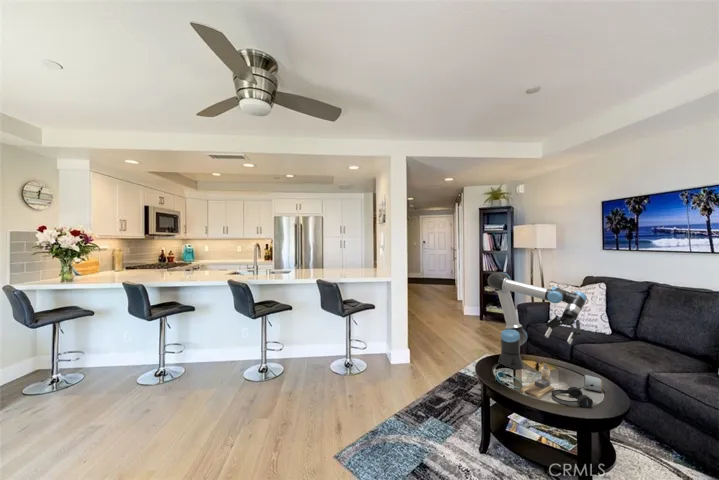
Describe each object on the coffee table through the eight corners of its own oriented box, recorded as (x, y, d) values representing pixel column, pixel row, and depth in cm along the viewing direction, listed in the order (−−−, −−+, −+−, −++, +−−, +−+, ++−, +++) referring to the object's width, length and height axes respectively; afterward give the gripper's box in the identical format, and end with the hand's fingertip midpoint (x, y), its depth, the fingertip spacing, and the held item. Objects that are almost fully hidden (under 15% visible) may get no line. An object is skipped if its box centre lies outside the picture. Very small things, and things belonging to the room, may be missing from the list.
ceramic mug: (603, 394, 167) (603, 380, 167) (585, 390, 171) (584, 377, 171) (600, 387, 176) (600, 374, 176) (583, 384, 180) (582, 371, 180)
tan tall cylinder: (540, 384, 179) (539, 363, 180) (543, 382, 182) (543, 361, 182) (548, 386, 176) (547, 365, 176) (551, 384, 178) (551, 363, 178)
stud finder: (534, 385, 174) (534, 381, 174) (539, 382, 177) (539, 378, 177) (543, 388, 170) (543, 384, 170) (548, 386, 173) (548, 381, 173)
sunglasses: (497, 376, 191) (498, 368, 191) (523, 385, 183) (524, 377, 182) (493, 384, 179) (494, 376, 179) (521, 394, 171) (522, 385, 171)
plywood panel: (520, 391, 169) (520, 389, 169) (535, 383, 180) (535, 381, 180) (539, 399, 161) (539, 396, 161) (553, 390, 171) (553, 387, 171)
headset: (600, 389, 151) (557, 390, 155) (602, 408, 151) (559, 409, 154) (584, 377, 165) (545, 379, 168) (587, 395, 164) (547, 396, 167)
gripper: (596, 320, 180) (582, 349, 173) (554, 312, 203) (540, 337, 196) (590, 312, 178) (576, 341, 171) (549, 305, 201) (534, 330, 194)
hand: (557, 339), depth 184 cm, fingers open, 13 cm apart
